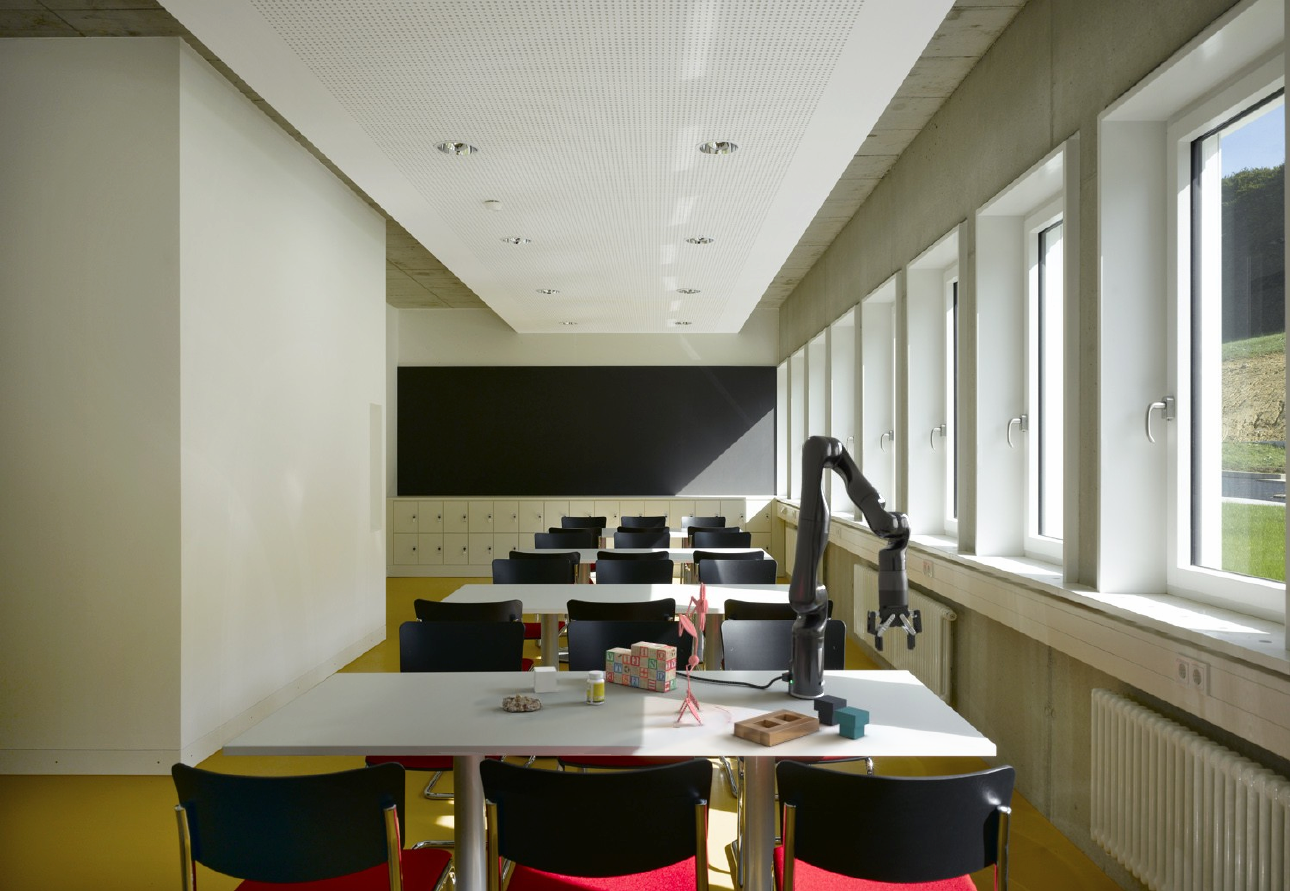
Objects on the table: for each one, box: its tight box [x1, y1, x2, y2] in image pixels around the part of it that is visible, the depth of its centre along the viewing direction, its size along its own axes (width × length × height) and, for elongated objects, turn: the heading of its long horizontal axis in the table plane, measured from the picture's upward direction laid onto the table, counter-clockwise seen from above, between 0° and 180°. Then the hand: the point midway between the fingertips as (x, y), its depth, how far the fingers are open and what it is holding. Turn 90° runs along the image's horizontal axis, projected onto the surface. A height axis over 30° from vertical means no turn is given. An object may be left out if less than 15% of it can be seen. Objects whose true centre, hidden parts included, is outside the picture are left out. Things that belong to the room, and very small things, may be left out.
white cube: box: [533, 666, 558, 694], centre depth 251 cm, size 6×6×6 cm
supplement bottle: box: [586, 670, 605, 706], centre depth 238 cm, size 5×5×8 cm
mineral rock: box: [501, 693, 543, 713], centre depth 231 cm, size 11×4×8 cm
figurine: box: [674, 582, 732, 729], centre depth 226 cm, size 15×26×35 cm, turn 175°
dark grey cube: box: [813, 694, 848, 727], centre depth 224 cm, size 6×6×6 cm
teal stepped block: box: [835, 705, 870, 740], centre depth 213 cm, size 6×6×6 cm
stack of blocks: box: [605, 641, 677, 693], centre depth 259 cm, size 21×6×12 cm, turn 58°
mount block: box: [733, 708, 820, 747], centre depth 214 cm, size 11×19×3 cm, turn 133°
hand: (895, 650), depth 225 cm, fingers open, 8 cm apart
